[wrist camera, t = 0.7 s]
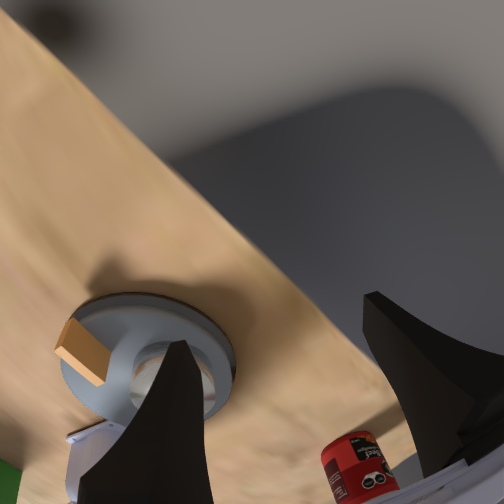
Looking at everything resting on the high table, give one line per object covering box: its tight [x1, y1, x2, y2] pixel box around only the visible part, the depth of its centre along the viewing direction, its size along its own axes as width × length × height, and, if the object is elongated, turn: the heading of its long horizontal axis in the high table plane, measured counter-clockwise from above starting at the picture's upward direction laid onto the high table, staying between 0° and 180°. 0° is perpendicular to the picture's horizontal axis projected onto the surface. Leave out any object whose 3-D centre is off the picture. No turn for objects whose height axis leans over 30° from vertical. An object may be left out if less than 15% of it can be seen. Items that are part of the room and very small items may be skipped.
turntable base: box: [68, 292, 236, 383], centre depth 24 cm, size 15×15×1 cm
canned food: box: [321, 432, 400, 504], centre depth 32 cm, size 8×8×11 cm
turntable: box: [54, 305, 232, 427], centre depth 22 cm, size 15×14×4 cm
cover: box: [129, 341, 216, 414], centre depth 21 cm, size 6×6×4 cm
